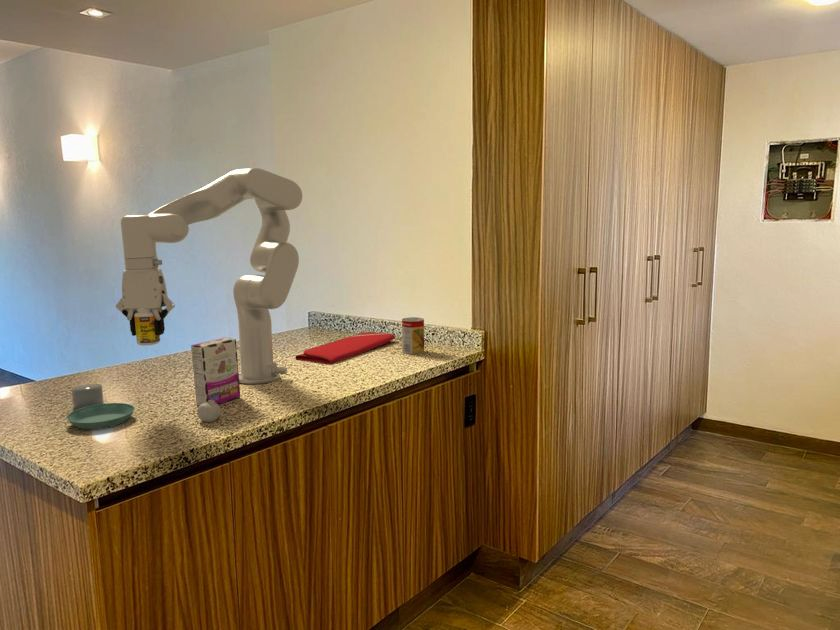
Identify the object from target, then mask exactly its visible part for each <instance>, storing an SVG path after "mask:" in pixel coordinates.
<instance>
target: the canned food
mask: <svg viewBox="0 0 840 630" xmlns="http://www.w3.org/2000/svg"><path fill="white" fill-rule="evenodd" d="M401 338H402V339H401V341H402V342H401V345H402V346H401V347H402V349H401V350H402V354H405V355H409V356H410V355H421V354H424V353H425V319H424V318H423V317H418V316H417V317H415V316H414V317H413V316H411V317H404V318H402V319H401Z"/></svg>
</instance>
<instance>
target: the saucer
mask: <svg viewBox="0 0 840 630" xmlns="http://www.w3.org/2000/svg"><path fill="white" fill-rule="evenodd" d="M135 409H136V408H135V406H134V405H132V404H129V403H123V402H108V403H104V404H98V405H92V406H87V407H83V408H80V409H77V410H76V409H74V410H73V411H71V412H69V413H68V414H67V415H66V420H67V421H68V422H69V423H70V424H71V425H73V426H74V427H76V428H78V429H81V428H82V430H99V428H102V429H107V428H106V427H108V428H112V427H115V426H114V425H116V426H118V424H119V425H121V424H123V423H125V422H126V421H127V420H128V419H130V417H131V416H132V415H133V413H134V411H135ZM120 423H121V424H120ZM111 426H112V427H111Z"/></svg>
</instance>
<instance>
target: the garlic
mask: <svg viewBox="0 0 840 630" xmlns="http://www.w3.org/2000/svg"><path fill="white" fill-rule="evenodd" d="M196 411H197V413H196V415H197V418H198V419H199V420H201V421H203V422H205V423H212V422H214V421H216V420H217V419H218V418H219V417H220V416H221V411H222V410H221V407H220V404H219V405H218V404H217V403H215V401H213V400H209V401H208V402H206V403H203V404H201V405H200V406H197V410H196Z"/></svg>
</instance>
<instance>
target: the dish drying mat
mask: <svg viewBox="0 0 840 630" xmlns="http://www.w3.org/2000/svg"><path fill="white" fill-rule="evenodd" d="M395 338H396V335H395V334H392V333H385V332H376V331H366V332H365V331H364V332H360V333H356V334H354V335H350V336H347V337H343V338H341V339H338V340H334V341H331V342H328V343H324V344H322V345H317V346H315V347H311V348H307V349H305V350H304V351H303V353H301V354H300V353H299V354H297V355H295V360H297V361H304V362H311V363H317V364H318V363H319V364H325V365H331V364H334V363H337V362H341V361H343V360H346V359H349V358H352V357H354V356H358V355H360V354H363V353H365V352H369V351H370V350H372V349H376V348H378V347H380V346H382V345H385V344H387V343H389V342H392V341H393V340H394V339H395Z"/></svg>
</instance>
